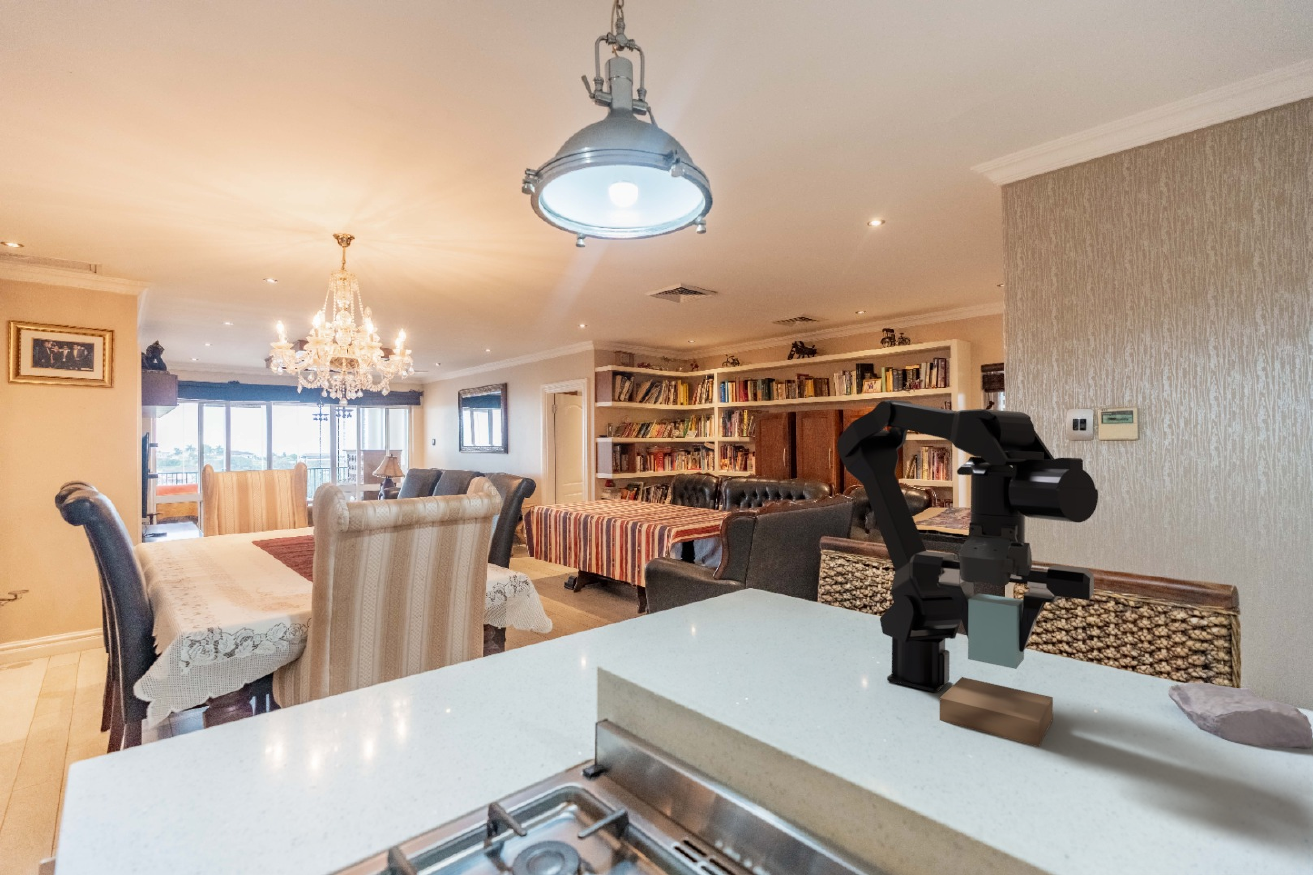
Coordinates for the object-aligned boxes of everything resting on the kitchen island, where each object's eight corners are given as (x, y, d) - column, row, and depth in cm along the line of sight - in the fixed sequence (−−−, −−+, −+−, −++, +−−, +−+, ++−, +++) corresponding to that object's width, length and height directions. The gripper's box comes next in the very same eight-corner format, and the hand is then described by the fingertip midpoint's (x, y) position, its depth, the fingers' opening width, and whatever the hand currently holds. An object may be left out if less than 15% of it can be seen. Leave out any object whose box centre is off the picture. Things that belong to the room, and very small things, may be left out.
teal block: (967, 659, 73) (968, 599, 74) (977, 650, 77) (978, 593, 78) (1016, 668, 70) (1016, 606, 71) (1023, 659, 74) (1024, 599, 74)
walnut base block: (939, 723, 73) (939, 697, 73) (961, 700, 80) (962, 676, 80) (1038, 750, 66) (1038, 722, 66) (1052, 722, 74) (1052, 697, 74)
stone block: (1224, 760, 69) (1327, 751, 67) (1212, 715, 69) (1315, 705, 68) (1158, 721, 80) (1245, 713, 79) (1149, 683, 81) (1235, 674, 79)
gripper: (895, 511, 74) (893, 643, 74) (1084, 524, 62) (1084, 682, 62) (923, 508, 83) (922, 626, 82) (1094, 519, 71) (1094, 657, 70)
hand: (996, 646), depth 74 cm, fingers closed on teal block, 5 cm apart
